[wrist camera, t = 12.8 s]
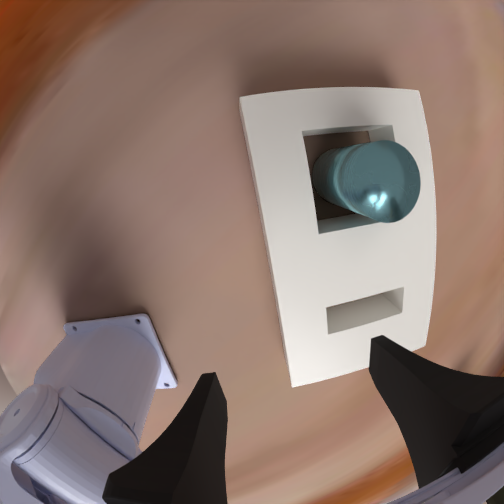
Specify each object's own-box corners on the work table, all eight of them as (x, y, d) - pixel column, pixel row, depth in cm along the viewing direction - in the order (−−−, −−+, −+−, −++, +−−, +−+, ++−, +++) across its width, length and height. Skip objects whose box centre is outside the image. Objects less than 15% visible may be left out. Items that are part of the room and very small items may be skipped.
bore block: (285, 360, 22) (292, 387, 19) (239, 110, 16) (239, 97, 13) (406, 326, 22) (425, 345, 19) (393, 99, 16) (418, 90, 13)
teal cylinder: (317, 208, 19) (358, 230, 12) (306, 152, 18) (345, 143, 11) (367, 199, 19) (423, 215, 12) (358, 145, 17) (414, 138, 11)
